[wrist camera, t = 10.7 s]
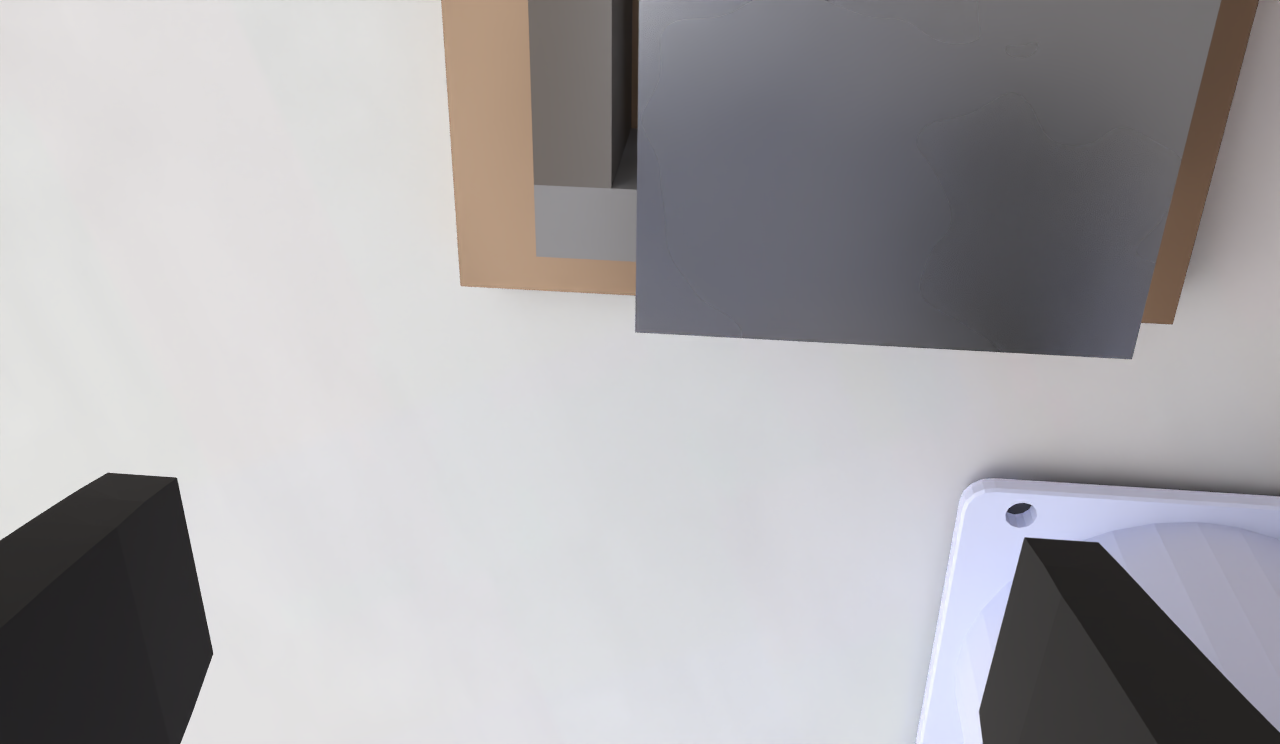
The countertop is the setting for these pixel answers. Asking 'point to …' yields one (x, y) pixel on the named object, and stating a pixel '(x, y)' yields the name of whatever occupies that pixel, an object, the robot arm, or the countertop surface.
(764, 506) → the countertop surface
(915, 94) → the peg
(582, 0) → the socket block
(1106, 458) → the countertop surface
